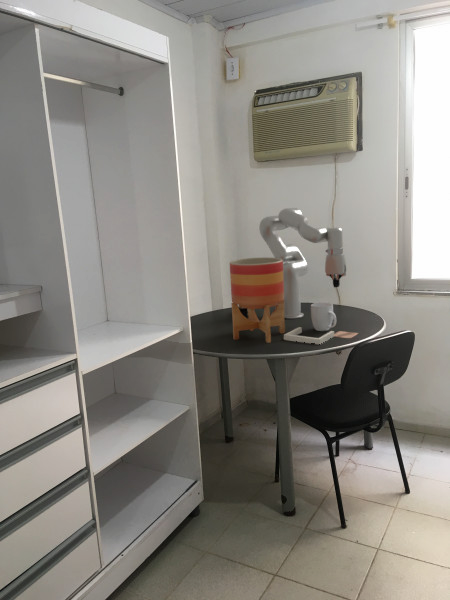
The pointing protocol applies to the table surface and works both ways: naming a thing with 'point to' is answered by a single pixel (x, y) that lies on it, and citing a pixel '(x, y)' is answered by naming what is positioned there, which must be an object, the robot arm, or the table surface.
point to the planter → (257, 294)
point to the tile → (345, 334)
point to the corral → (293, 337)
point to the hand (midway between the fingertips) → (336, 286)
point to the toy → (244, 312)
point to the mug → (322, 316)
